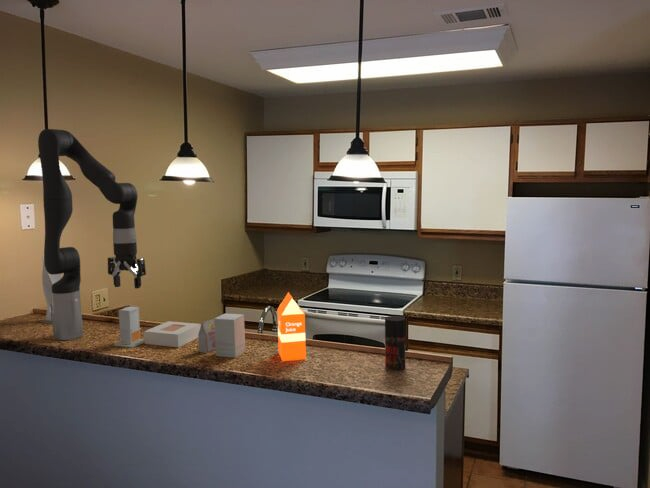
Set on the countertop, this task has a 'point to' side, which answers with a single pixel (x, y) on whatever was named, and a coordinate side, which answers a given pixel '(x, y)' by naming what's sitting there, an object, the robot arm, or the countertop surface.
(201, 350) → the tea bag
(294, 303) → the orange juice
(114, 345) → the mat
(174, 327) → the button
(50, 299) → the skyscraper
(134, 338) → the skincare box
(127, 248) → the robot arm
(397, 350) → the deodorant
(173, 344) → the frame
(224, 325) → the supplement box
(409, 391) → the countertop surface
